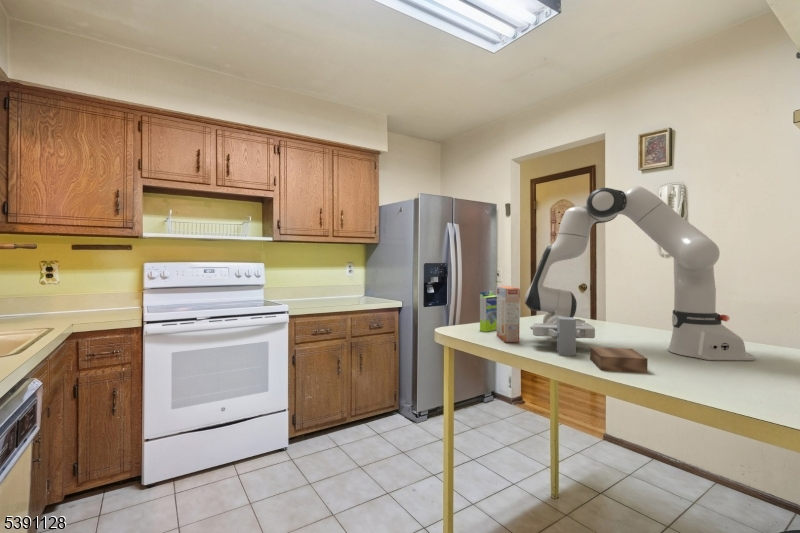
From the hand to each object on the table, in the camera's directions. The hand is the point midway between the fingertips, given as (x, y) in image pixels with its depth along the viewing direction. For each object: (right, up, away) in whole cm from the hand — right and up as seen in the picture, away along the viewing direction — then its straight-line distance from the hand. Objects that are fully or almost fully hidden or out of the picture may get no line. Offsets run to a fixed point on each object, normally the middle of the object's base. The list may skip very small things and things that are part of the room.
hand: (566, 334), depth 128 cm
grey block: (0, -6, +1) cm, 7 cm away
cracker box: (-13, -6, +25) cm, 28 cm away
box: (-15, -6, +44) cm, 47 cm away
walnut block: (+9, -7, -13) cm, 18 cm away
